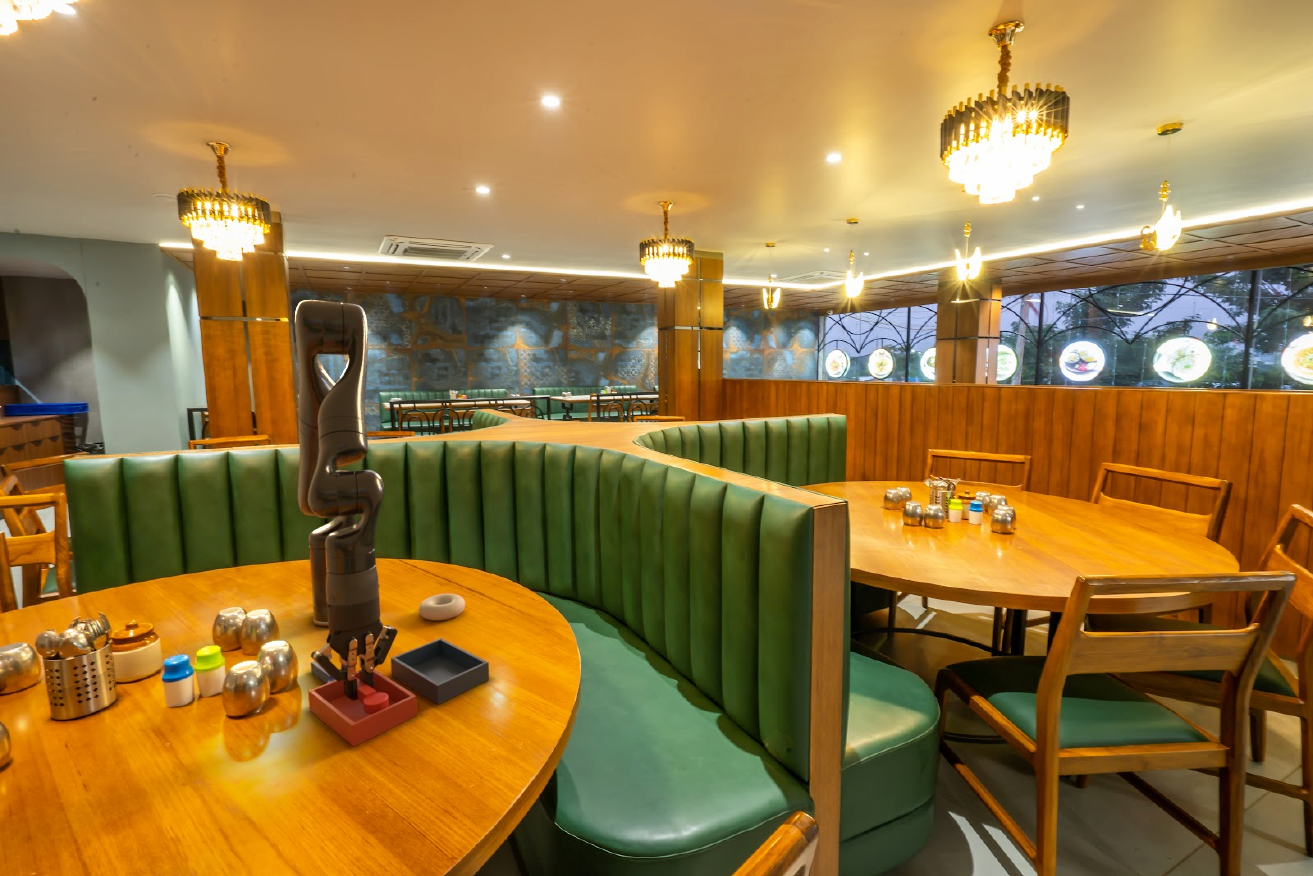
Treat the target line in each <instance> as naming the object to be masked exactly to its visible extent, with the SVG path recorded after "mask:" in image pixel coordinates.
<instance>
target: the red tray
mask: <svg viewBox="0 0 1313 876" xmlns="http://www.w3.org/2000/svg"><path fill="white" fill-rule="evenodd" d="M360 670H361V669H360ZM360 670H357V671H356V676H355V677H356V678H358V679H359V680H360V674H359V671H360ZM373 680H374V687H373V689H374V690H375V691H376V693H379V692H383V693H386V694H388V699H389V706H388V707H387V708H385V709H382V710H380V711H378V712H376V713H374V714H366V713H365V712H364V707H363V703H361V702H360V701H358V700H354V701H352V700H351V699H349V698H348V697H346V696H345V694H344V690H343V680H342V681H336V680H334V681H332V682H329V683H327V684H326V683H324V684H322V685H319V686H316V687H314V688H312V689H309V690H308V691H307V692H308V705H309V708H308V709H309V711H310V712H311V713H312V714H313V715H315V716H316V717H317V718H319V719H320V720H321V721H322V722H323V723H324V724H326V726H328V727H329V728H330V729H331V730H333V732H334V733H336V734H337V735H339V736H340V737H341V738H342V739H343V740H345V742H347V743H348V744H349V745H351V747H353V748H355V747H356V746H359V745H360V744H362V743H364V742H367V741H368V740H370V739H373V738H374V737H376V736H379V735H380V734H382V733H385V732H387V731H389V730H390V729H392V728H394V727H397V726H398V725H401V724H404V723H405V722H407V721H409V720H411V719H413V718H415V717H417V716H418V706H417V705H418V704H417V696H416V695H415V694H414V693H412V692H411V691H409V690H407V689H406V688H404V687H403V686H402V685H400V684H398V683H396V682H395V681H393V680H392V679H390V678H389V677H387V676H385V675H384V674H382V673H381V672H379V671H378V670H376V669H375V668H374V670H373Z"/></svg>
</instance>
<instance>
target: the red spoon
mask: <svg viewBox="0 0 1313 876" xmlns="http://www.w3.org/2000/svg"><path fill="white" fill-rule="evenodd" d="M357 686H358V689H357V696H358V699H357V700H358V701H360V702H361V703H363V707H364V712H365V713H366V714H374V713H376V712H378V711H380V710H382V709H385V708H387V707H388V706H389V699H388V694H386V693H383V692H379V693H376V691H375V690H374V689H372V688H371V687H369V686H368V685H366V684H364V683H363V682H362V681H360V680H359V679H358V678H357ZM343 690H344V686H343Z"/></svg>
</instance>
